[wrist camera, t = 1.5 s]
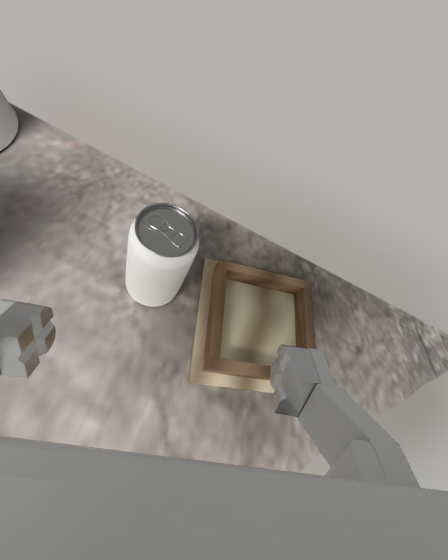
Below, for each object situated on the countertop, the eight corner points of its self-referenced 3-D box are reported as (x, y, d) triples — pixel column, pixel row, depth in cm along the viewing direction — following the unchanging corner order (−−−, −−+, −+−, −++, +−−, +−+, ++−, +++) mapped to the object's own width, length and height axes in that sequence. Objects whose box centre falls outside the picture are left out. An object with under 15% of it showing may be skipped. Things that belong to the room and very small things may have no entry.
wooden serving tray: (188, 382, 32) (194, 379, 29) (204, 259, 39) (210, 248, 36) (312, 398, 36) (328, 396, 33) (305, 284, 43) (318, 275, 41)
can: (148, 250, 37) (161, 187, 27) (188, 280, 37) (216, 229, 27) (113, 285, 34) (112, 228, 23) (157, 318, 34) (175, 276, 23)
